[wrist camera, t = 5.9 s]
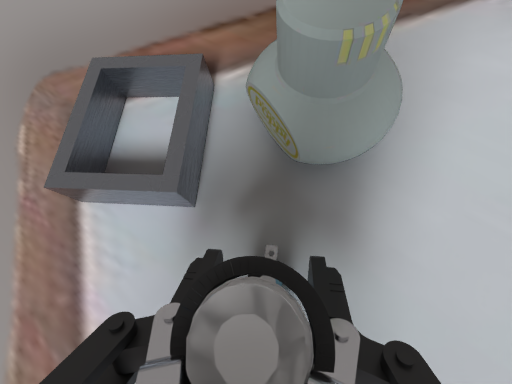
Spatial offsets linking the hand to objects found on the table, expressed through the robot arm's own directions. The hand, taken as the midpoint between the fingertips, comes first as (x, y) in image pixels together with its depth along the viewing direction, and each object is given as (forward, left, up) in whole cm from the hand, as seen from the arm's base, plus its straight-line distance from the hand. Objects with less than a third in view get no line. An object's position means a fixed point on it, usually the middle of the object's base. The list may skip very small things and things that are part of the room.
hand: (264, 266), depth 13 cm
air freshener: (-3, -12, -4) cm, 13 cm away
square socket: (+11, -10, -4) cm, 16 cm away
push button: (0, +2, -4) cm, 5 cm away
